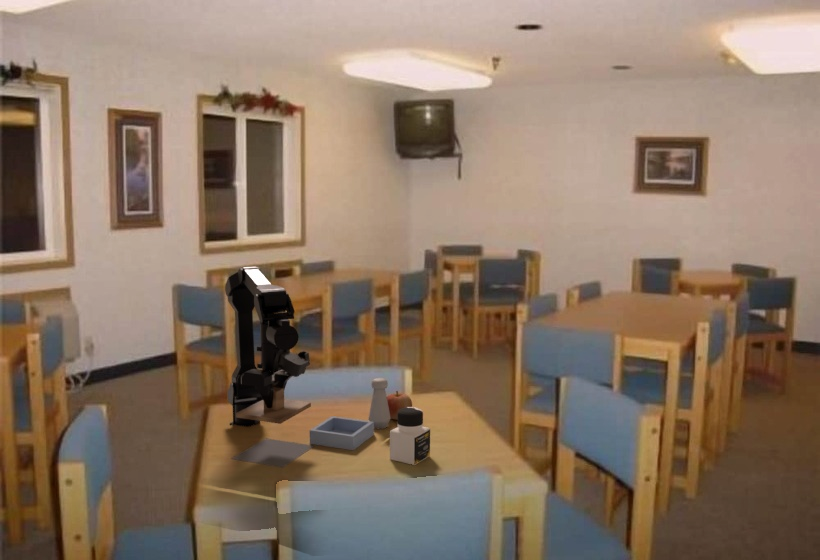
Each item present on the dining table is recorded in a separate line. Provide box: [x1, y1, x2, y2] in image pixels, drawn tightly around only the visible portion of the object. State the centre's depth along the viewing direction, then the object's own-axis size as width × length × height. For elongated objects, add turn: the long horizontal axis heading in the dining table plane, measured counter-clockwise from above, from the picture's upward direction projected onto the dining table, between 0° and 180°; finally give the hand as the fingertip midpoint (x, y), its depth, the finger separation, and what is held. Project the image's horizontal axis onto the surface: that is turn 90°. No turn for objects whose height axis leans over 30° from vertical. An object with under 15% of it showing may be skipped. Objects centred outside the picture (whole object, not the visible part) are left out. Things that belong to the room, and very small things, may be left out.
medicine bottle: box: [389, 406, 431, 466], centre depth 182 cm, size 7×7×12 cm
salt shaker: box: [368, 377, 391, 430], centre depth 204 cm, size 6×6×13 cm
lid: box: [236, 387, 312, 425], centre depth 183 cm, size 12×14×6 cm
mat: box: [231, 438, 315, 468], centre depth 184 cm, size 14×15×1 cm
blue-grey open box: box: [309, 415, 375, 451], centre depth 193 cm, size 12×12×4 cm
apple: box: [386, 390, 413, 421], centre depth 211 cm, size 8×8×8 cm
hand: (274, 405), depth 183 cm, fingers closed on lid, 3 cm apart
